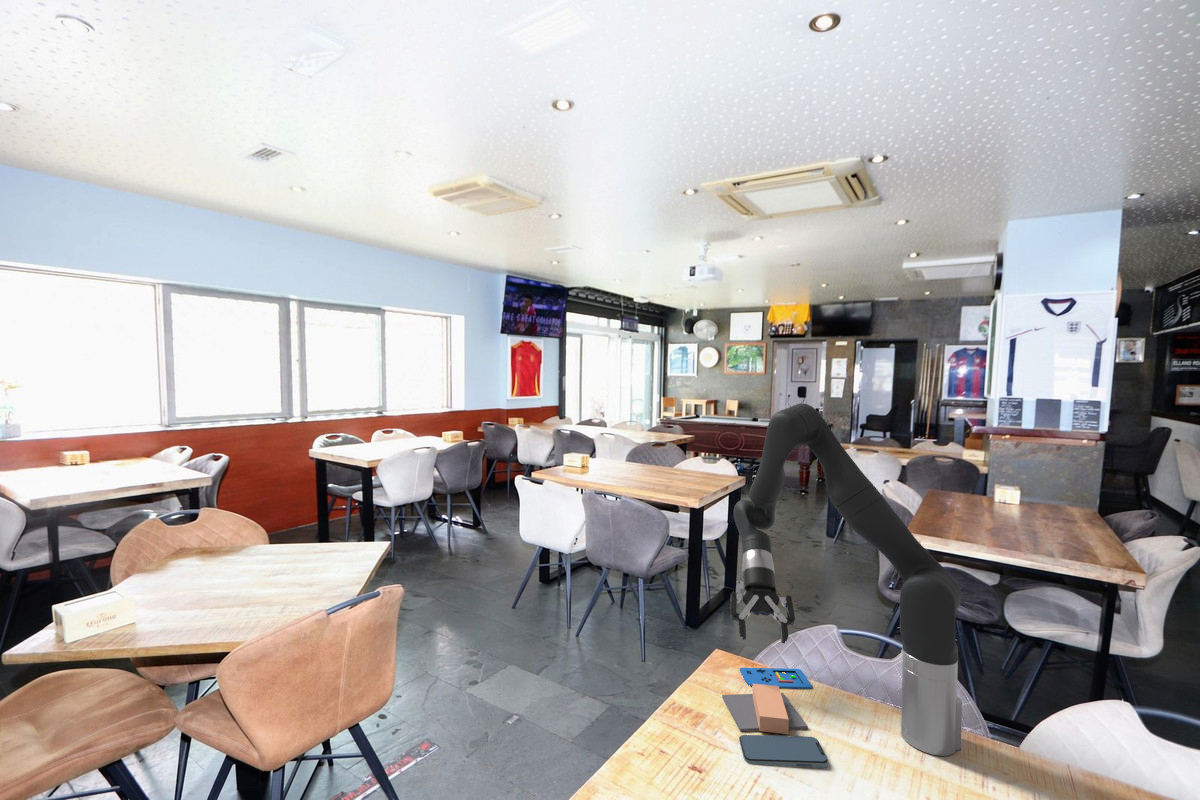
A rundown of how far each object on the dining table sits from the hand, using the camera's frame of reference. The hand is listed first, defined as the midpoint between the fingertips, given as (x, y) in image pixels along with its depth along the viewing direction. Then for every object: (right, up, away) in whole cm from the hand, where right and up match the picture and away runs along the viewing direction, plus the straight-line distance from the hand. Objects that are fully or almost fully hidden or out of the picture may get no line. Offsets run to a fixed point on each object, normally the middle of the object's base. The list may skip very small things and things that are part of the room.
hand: (763, 640), depth 120 cm
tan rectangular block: (0, -10, -2) cm, 11 cm away
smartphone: (-2, -13, -19) cm, 23 cm away
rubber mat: (-2, -13, -6) cm, 14 cm away
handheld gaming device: (+5, -13, +7) cm, 16 cm away
